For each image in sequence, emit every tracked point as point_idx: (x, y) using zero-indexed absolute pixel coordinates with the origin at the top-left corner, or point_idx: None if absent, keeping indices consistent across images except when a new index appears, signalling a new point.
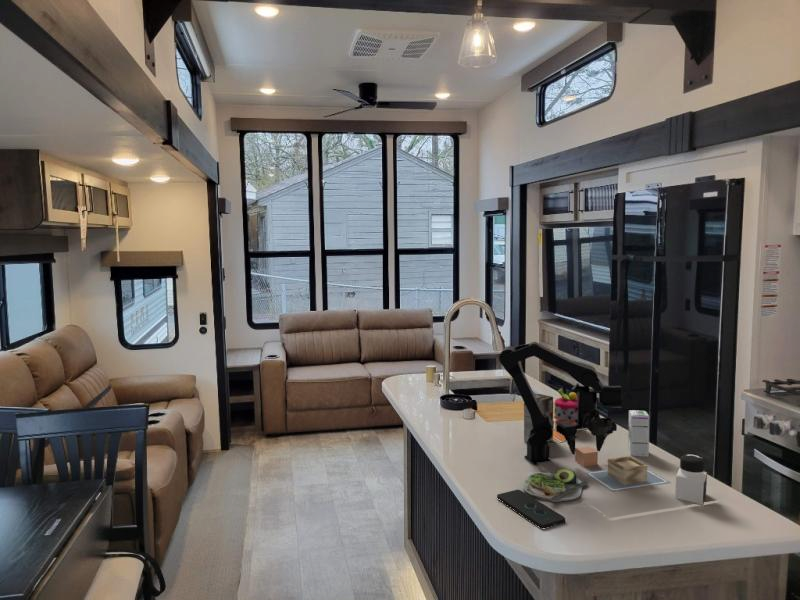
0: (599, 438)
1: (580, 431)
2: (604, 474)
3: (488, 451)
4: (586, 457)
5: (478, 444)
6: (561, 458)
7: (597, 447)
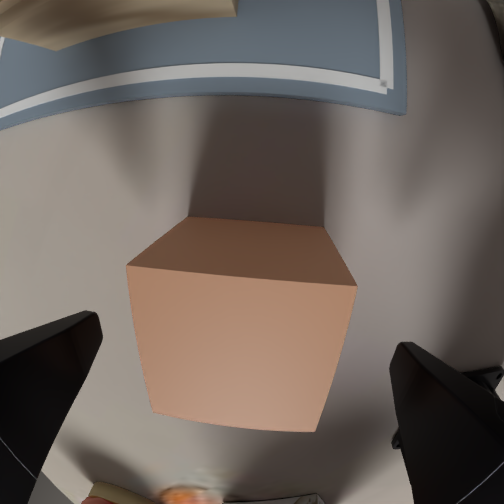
0: (11, 408)
1: (101, 482)
2: (266, 17)
3: None
4: (306, 257)
5: None
6: (334, 406)
7: (85, 352)
